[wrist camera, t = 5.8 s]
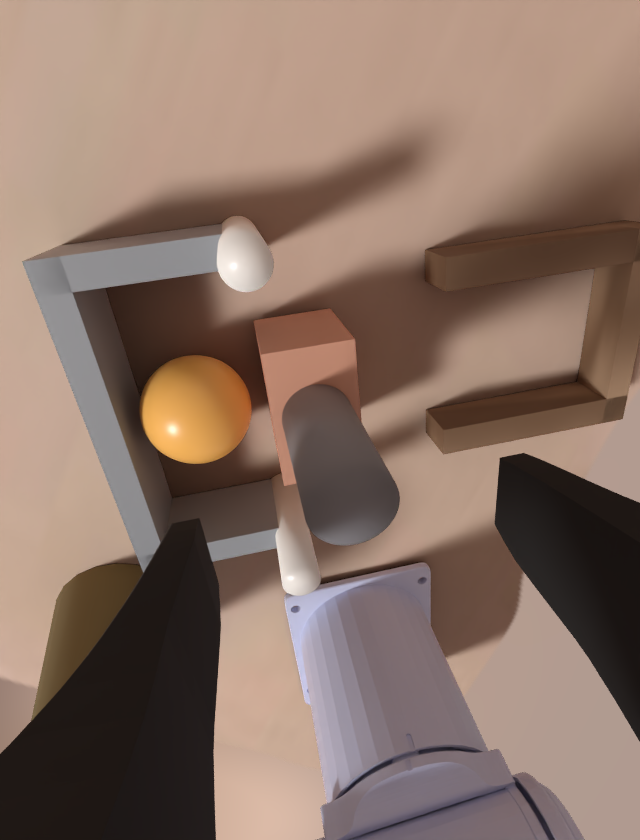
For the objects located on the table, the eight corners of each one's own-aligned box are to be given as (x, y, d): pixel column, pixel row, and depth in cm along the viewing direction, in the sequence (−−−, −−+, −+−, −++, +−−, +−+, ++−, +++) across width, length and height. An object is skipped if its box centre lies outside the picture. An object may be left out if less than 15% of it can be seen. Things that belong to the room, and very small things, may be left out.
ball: (136, 484, 17) (183, 429, 21) (240, 486, 16) (271, 429, 20) (100, 384, 15) (159, 341, 19) (215, 381, 15) (255, 337, 18)
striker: (341, 420, 21) (412, 568, 13) (273, 433, 21) (305, 592, 13) (330, 308, 19) (409, 405, 11) (253, 320, 18) (276, 430, 10)
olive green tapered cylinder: (128, 543, 22) (56, 824, 13) (208, 612, 25) (198, 885, 15) (26, 606, 23) (-119, 921, 13) (115, 667, 26) (50, 963, 16)
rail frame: (592, 400, 23) (622, 419, 22) (426, 432, 22) (443, 454, 21) (624, 220, 19) (664, 224, 18) (425, 249, 19) (446, 257, 17)
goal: (299, 494, 23) (323, 591, 17) (156, 523, 22) (135, 632, 17) (254, 212, 17) (268, 229, 12) (57, 239, 16) (-23, 269, 11)
